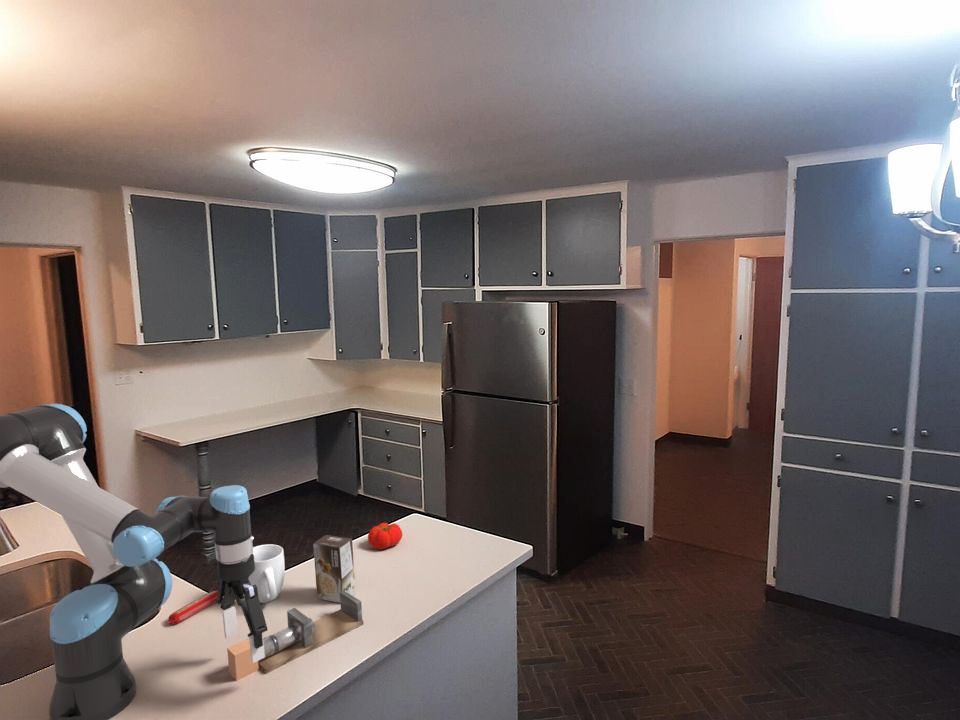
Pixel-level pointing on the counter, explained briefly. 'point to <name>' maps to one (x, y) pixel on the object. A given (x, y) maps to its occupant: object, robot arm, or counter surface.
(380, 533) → the tomato
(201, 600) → the candy bar
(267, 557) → the mug
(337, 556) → the coffee box
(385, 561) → the counter surface
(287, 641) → the shaft
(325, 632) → the rail
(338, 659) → the counter surface
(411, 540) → the counter surface
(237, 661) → the block
